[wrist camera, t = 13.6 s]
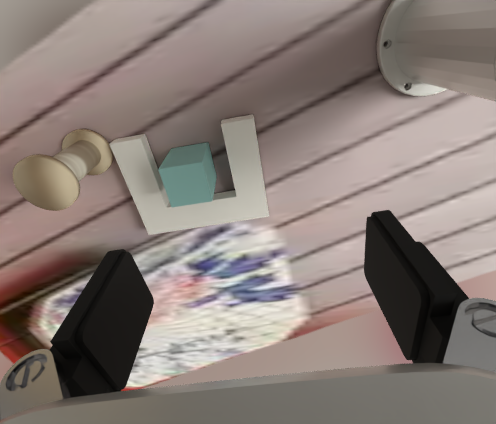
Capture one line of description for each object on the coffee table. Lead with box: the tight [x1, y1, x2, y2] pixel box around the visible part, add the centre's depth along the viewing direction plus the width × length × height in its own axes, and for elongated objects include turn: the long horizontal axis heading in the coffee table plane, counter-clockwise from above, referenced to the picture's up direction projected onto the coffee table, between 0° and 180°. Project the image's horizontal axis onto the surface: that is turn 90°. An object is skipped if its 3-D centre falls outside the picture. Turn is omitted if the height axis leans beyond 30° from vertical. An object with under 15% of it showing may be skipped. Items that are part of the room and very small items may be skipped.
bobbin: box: [13, 129, 113, 211], centre depth 33 cm, size 6×6×10 cm
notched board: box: [109, 114, 269, 235], centre depth 39 cm, size 18×14×2 cm
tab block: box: [158, 142, 217, 207], centre depth 36 cm, size 5×5×7 cm
